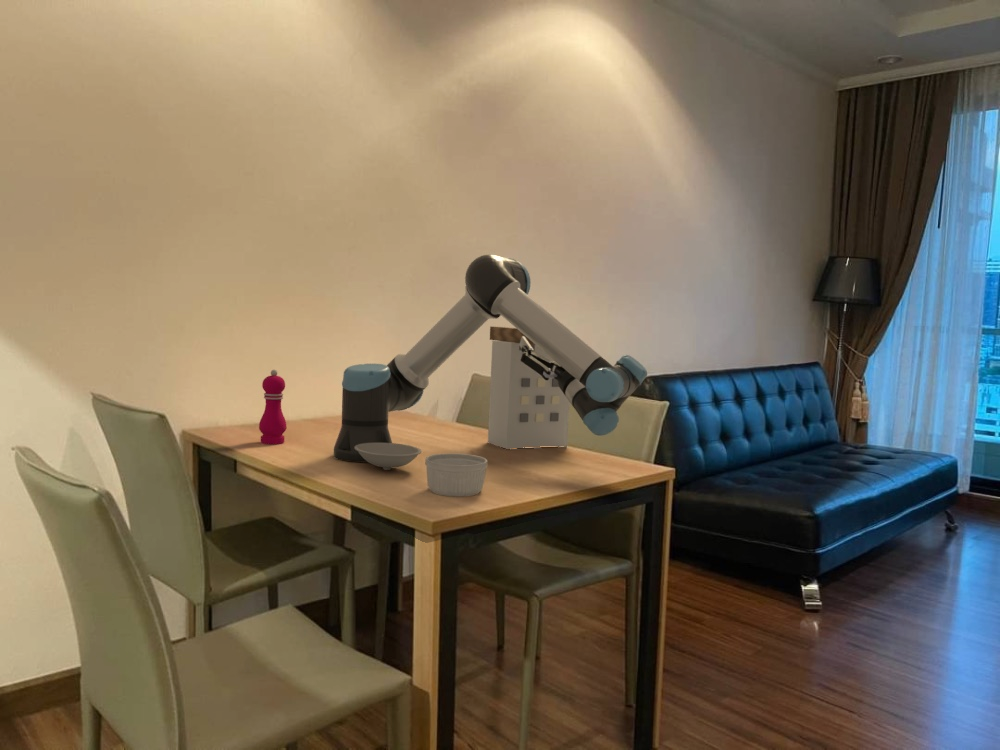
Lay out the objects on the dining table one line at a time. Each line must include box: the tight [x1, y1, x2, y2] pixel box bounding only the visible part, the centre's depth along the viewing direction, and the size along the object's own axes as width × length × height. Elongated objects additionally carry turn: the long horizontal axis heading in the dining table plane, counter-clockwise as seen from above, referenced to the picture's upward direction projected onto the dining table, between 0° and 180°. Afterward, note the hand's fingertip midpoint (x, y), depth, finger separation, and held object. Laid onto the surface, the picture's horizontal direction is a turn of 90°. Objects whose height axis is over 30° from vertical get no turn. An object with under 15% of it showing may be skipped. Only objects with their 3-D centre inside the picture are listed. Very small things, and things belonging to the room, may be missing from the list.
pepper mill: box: [258, 369, 287, 445], centre depth 211 cm, size 7×7×20 cm
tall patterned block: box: [487, 340, 570, 450], centre depth 227 cm, size 13×20×30 cm, turn 117°
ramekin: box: [424, 452, 488, 498], centre depth 165 cm, size 13×13×7 cm
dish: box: [354, 442, 422, 471], centre depth 184 cm, size 18×14×5 cm
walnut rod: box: [489, 326, 536, 345], centre depth 222 cm, size 32×4×4 cm, turn 27°
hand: (543, 341), depth 210 cm, fingers open, 13 cm apart
